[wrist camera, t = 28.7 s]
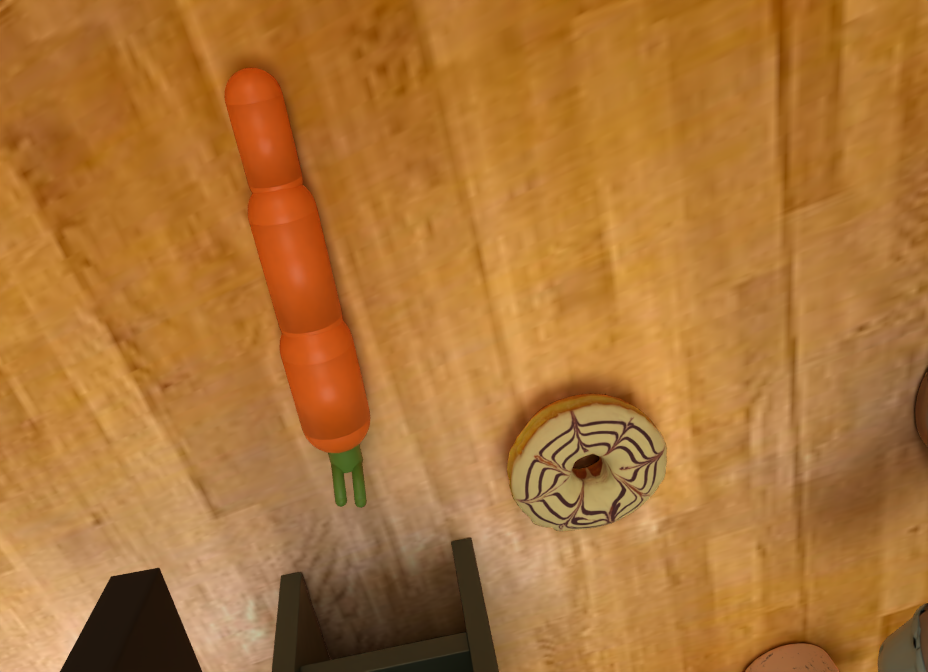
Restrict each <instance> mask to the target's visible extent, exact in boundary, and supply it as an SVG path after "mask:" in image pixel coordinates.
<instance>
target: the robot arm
mask: <svg viewBox="0 0 928 672" xmlns="http://www.w3.org/2000/svg"><path fill="white" fill-rule="evenodd" d="M915 419H916V426H917V430H918V433H919V435H920V437H921V439H922V441H923V442H924V444H925V445H926V446H927V447H928V370H927V372H926V374H925V376H924V378H923V381H922V383H921V386H920V389H919V391H918V396H917V400H916V407H915ZM60 672H202V670H201V668H200V665H199V663H198V660H197V658H196V655H195V653H194V651H193V648H192V646H191V643H190V641H189V638H188V636H187V634H186V631H185V629H184V626H183V624H182V622H181V619H180V617H179V614H178V612H177V609H176V607H175V605H174V602H173V600H172V597H171V595H170V592H169V590H168V588H167V585H166V583H165V580H164V578H163V575H162V573H161V571H160V568H155V569H150V570H144V571H139V572H134V573H128V574H123V575H117V576H112V577H111V578H110V580H109V582H108V583H107V585H106V587H105V589H104V591H103V593H102V595H101V596H100V598H99V600H98V602H97V604H96V606H95V608H94V609H93V611H92V613H91V615H90V617H89V619H88V621H87V622H86V624H85V626H84V628H83V630H82V632H81V634H80V636H79V637H78V639H77V641H76V643H75V645H74V647H73V649H72V650H71V652H70V654H69V656H68V658H67V660H66V662H65V663H64V665H63V667H62V669H61V671H60ZM878 672H928V603H926V604H924V605H922V606H921V607H919V608H918V609H917V610H916V612H915V614H914V616H913V618H911V619H910V620H909V621H908V622H906V623H905V624H904V625H902V626H901V627H900V628H899V629H897V630H896V631H895V632H894V633H892V634H891V635H890V636H889V637H888V638H886V640H885V641H884V642H883V644H882V645H881V647H880V651H879V657H878Z"/></svg>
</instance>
